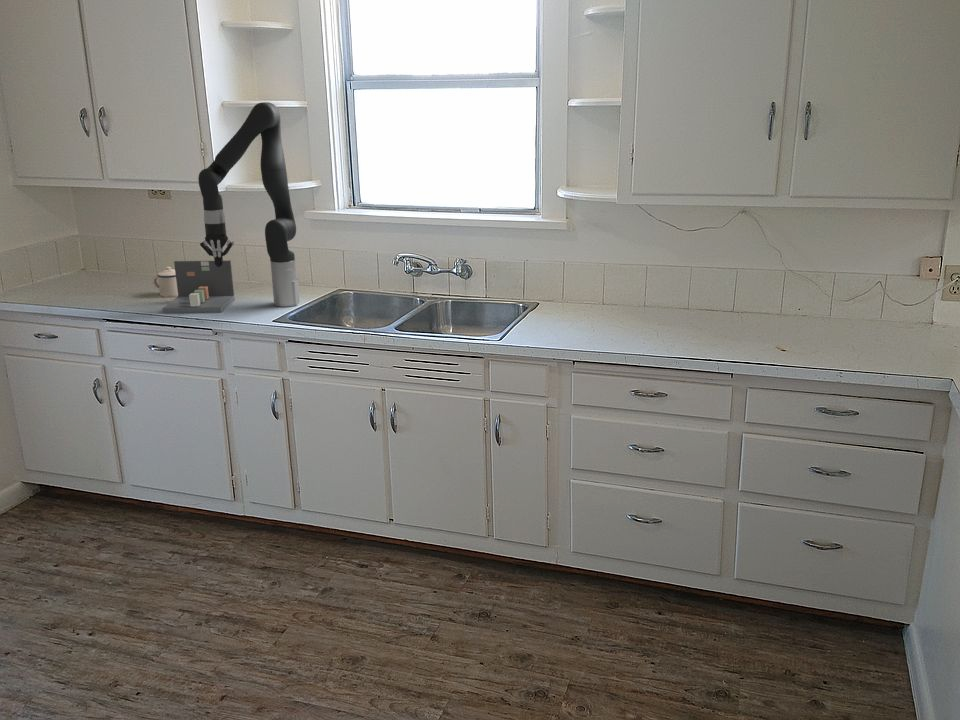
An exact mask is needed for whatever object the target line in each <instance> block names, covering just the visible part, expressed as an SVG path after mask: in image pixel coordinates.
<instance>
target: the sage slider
mask: <svg viewBox="0 0 960 720" xmlns="http://www.w3.org/2000/svg"><path fill="white" fill-rule="evenodd" d="M194 293H199V297H200V303H203V302H205V297H204V290H195V291H194Z"/></svg>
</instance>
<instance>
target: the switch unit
mask: <svg viewBox="0 0 960 720" xmlns="http://www.w3.org/2000/svg"><path fill="white" fill-rule="evenodd" d="M173 264H174V270H175V273H176V282H177V290H178V296H176V297H175V298H174V299H173V300H171V301H170V302H169V303H167V304H166V305H164V306H163V307H162V313H163V314H183V313H184V314H185V313H186V314H193V313H196V312H198V314H199V313H200V314H201V313H203V312H209V313H223V312H224V311H225V310H226V309H227V308H228V307H229V306H230V305H231V304H232V303H233V302H235V300H236V298H235V297H236V296H235V289H234V288H235V287H234V277H233V268H232V261H231V260H229V259H228V260H225V259H223V265H222V266H221V267H217V265H215V260H174V262H173ZM206 286H208V293H209V298H208V299H205V302H203V303H200V305H199V306H190V299H189V294H191V293H194V291H195V290H198V288H199V287H206ZM196 314H197V313H196ZM203 314H204V313H203Z"/></svg>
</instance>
